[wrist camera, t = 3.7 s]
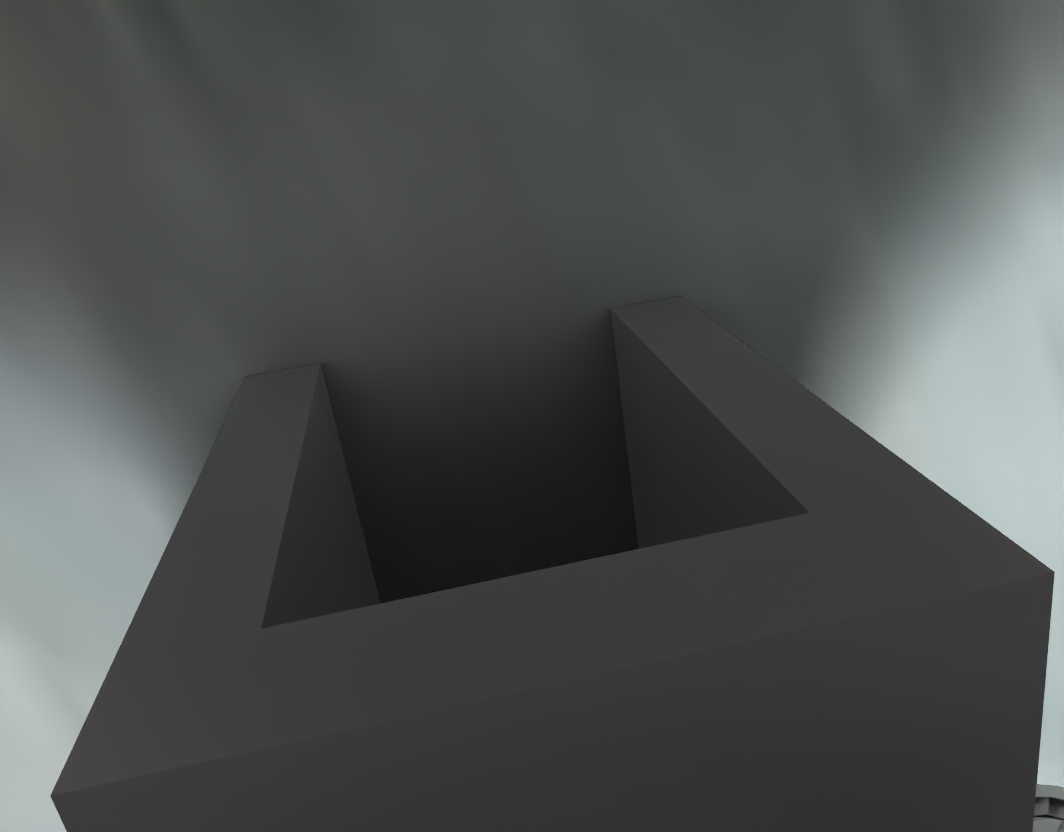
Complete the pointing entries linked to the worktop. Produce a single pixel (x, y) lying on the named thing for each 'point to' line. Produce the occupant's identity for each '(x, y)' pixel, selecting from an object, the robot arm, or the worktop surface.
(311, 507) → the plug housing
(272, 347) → the worktop surface
